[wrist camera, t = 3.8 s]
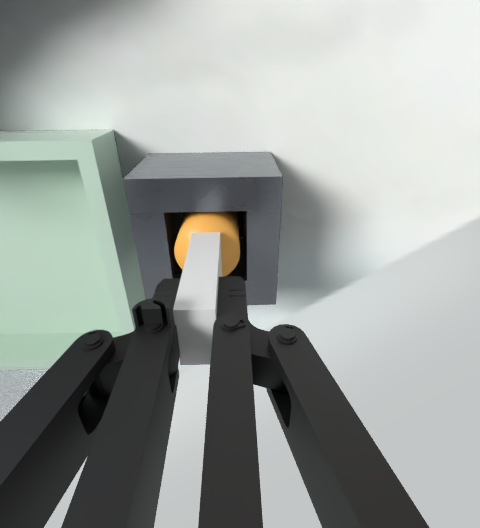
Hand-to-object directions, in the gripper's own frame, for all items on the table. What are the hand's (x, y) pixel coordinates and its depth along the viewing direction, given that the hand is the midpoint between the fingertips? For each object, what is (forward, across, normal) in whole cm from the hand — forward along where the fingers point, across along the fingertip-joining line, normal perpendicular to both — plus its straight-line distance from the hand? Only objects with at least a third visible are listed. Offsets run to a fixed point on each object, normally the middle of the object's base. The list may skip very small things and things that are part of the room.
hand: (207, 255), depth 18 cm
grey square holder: (+7, 0, 0) cm, 7 cm away
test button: (+5, 0, 0) cm, 5 cm away
